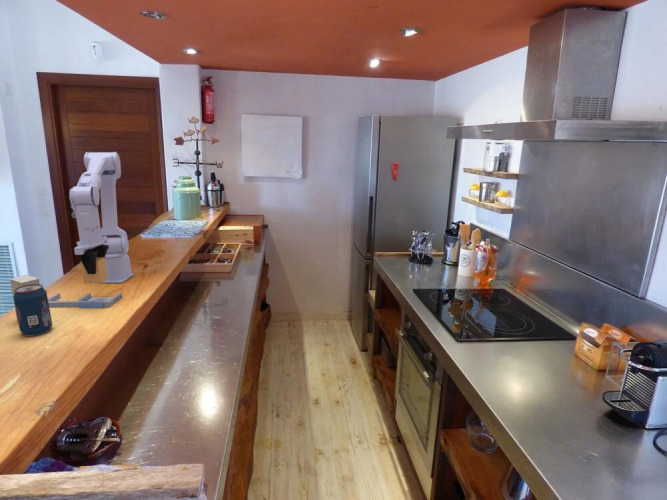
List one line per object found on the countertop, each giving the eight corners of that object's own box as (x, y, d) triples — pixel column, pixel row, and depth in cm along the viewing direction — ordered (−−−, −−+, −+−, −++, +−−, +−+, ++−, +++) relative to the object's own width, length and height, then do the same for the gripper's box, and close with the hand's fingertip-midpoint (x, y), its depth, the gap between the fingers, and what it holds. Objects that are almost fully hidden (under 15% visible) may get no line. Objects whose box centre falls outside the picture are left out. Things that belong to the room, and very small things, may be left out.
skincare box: (16, 320, 114) (8, 278, 111) (34, 314, 118) (26, 274, 115) (29, 325, 112) (20, 282, 109) (47, 319, 115) (39, 277, 112)
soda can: (22, 328, 110) (13, 285, 107) (54, 323, 113) (46, 281, 110) (18, 339, 104) (9, 294, 101) (52, 333, 107) (43, 289, 104)
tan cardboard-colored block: (91, 279, 128) (87, 257, 127) (107, 279, 129) (104, 257, 127) (84, 283, 125) (80, 261, 123) (101, 283, 125) (97, 260, 123)
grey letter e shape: (57, 297, 131) (56, 292, 130) (122, 297, 131) (121, 292, 131) (40, 308, 123) (39, 302, 122) (109, 307, 123) (108, 302, 123)
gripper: (88, 222, 129) (95, 264, 133) (60, 232, 115) (68, 279, 119) (111, 222, 129) (117, 264, 133) (86, 232, 115) (93, 279, 119)
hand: (95, 271), depth 126 cm, fingers closed on tan cardboard-colored block, 4 cm apart
